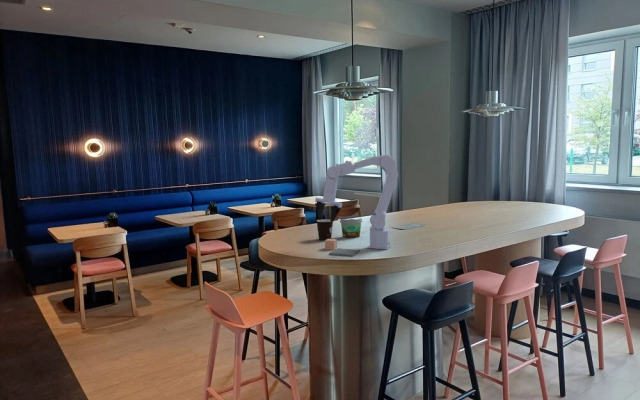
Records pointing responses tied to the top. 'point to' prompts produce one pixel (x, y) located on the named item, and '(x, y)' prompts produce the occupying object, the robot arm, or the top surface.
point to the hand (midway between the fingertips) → (325, 219)
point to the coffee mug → (324, 229)
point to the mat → (344, 252)
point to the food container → (351, 228)
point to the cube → (330, 244)
